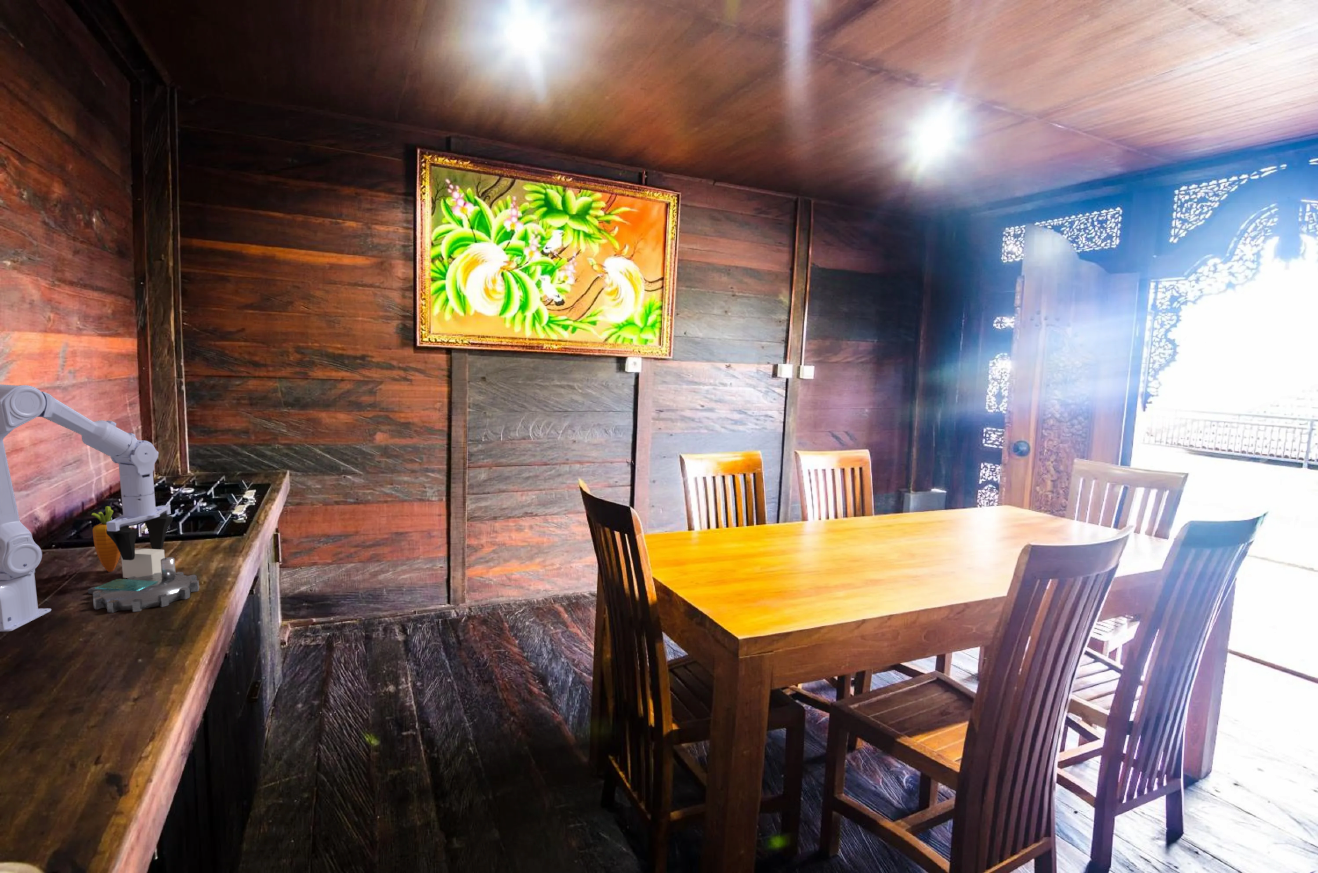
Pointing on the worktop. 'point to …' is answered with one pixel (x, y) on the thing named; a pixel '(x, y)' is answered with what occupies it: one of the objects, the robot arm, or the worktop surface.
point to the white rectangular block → (143, 563)
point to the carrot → (105, 542)
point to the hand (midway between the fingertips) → (143, 554)
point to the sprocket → (146, 590)
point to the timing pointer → (91, 590)
